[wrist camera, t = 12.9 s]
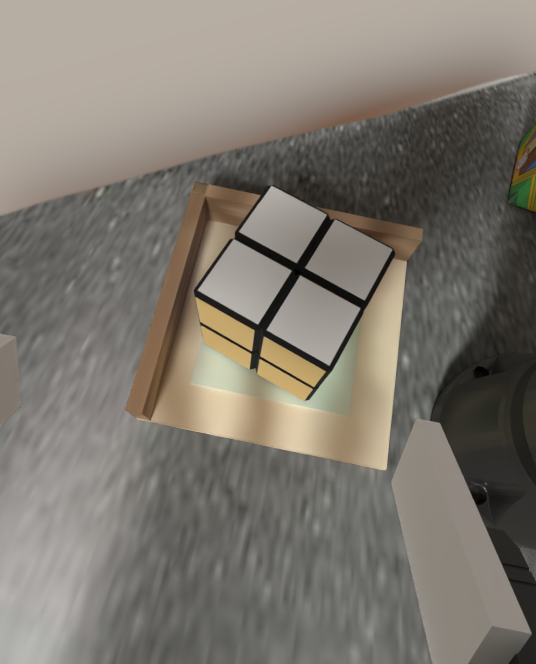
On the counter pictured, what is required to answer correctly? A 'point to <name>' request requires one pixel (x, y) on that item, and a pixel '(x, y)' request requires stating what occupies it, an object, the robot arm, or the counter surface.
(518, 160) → the chalk box
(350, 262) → the puzzle cube
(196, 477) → the counter surface
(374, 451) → the walled corner board
